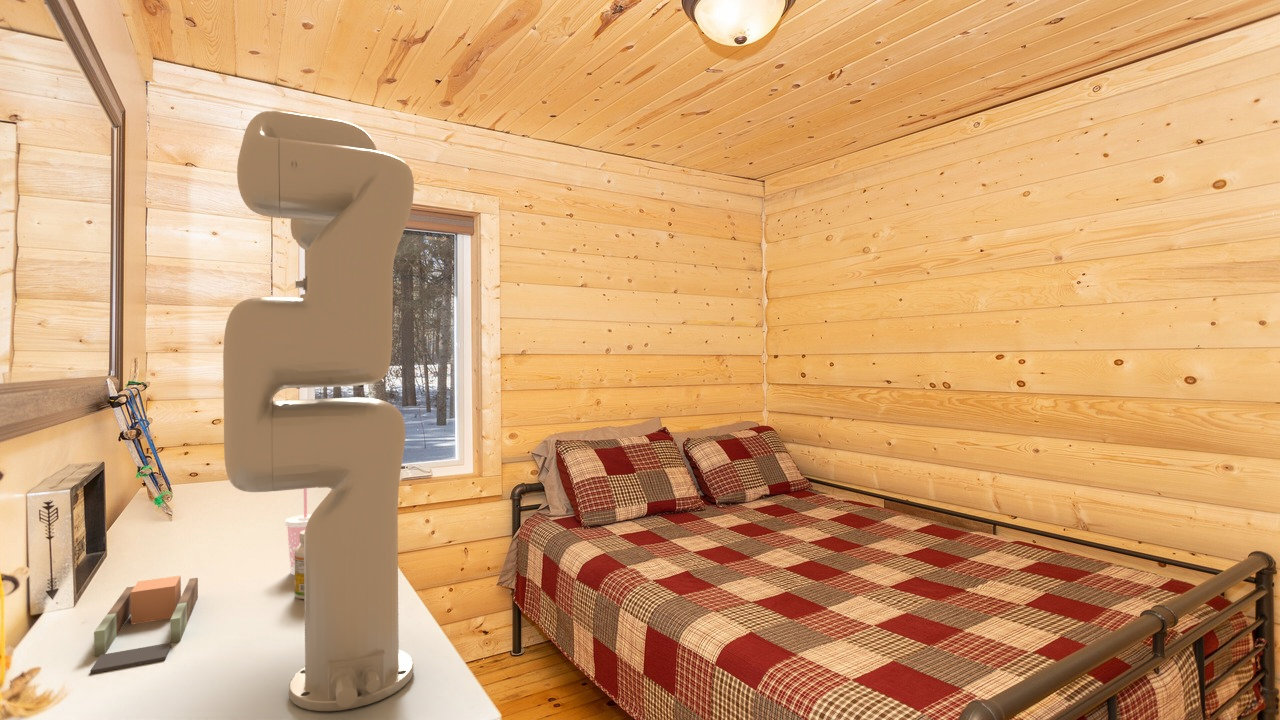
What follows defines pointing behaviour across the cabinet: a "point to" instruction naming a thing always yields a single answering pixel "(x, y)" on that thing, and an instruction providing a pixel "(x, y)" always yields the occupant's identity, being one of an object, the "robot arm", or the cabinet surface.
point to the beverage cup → (296, 531)
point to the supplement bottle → (299, 568)
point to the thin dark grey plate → (131, 658)
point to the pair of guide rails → (123, 610)
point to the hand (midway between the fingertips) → (330, 387)
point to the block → (155, 599)
